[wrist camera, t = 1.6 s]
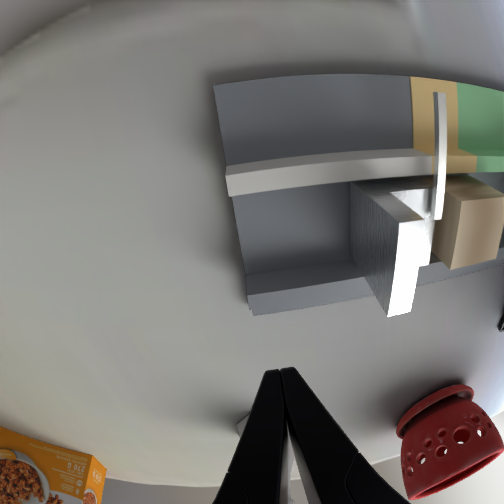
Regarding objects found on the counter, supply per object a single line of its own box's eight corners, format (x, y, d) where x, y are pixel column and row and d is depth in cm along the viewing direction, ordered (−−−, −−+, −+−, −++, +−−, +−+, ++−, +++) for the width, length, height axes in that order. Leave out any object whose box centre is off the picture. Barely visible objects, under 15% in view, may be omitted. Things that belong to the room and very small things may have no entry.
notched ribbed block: (413, 90, 13) (483, 98, 8) (409, 245, 18) (458, 298, 13) (343, 88, 13) (399, 89, 8) (349, 255, 18) (387, 316, 13)
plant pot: (408, 387, 28) (445, 477, 17) (485, 366, 29) (524, 434, 18) (372, 441, 34) (392, 512, 24) (443, 421, 35) (468, 480, 24)
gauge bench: (517, 96, 13) (575, 111, 8) (499, 257, 20) (540, 295, 15) (214, 86, 14) (202, 79, 9) (252, 306, 21) (258, 375, 15)
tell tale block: (468, 174, 16) (508, 196, 12) (461, 230, 18) (495, 258, 14) (421, 177, 16) (461, 201, 12) (417, 237, 18) (450, 269, 14)
